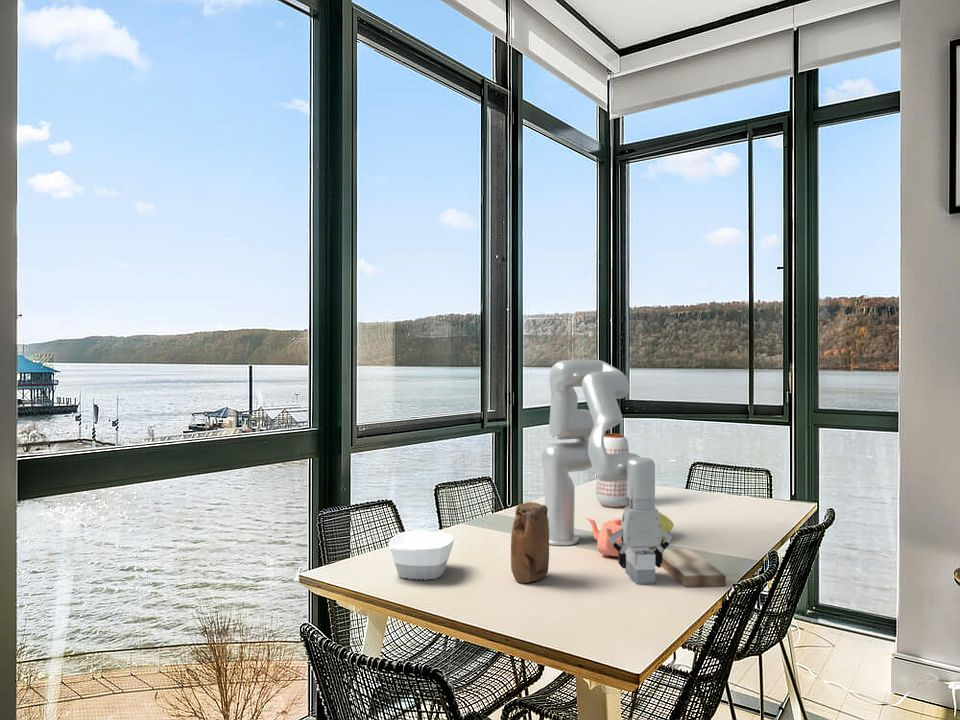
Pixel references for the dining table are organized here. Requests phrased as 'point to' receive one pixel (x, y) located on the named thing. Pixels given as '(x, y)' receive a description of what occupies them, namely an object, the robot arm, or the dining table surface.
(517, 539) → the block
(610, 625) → the dining table surface
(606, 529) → the teapot
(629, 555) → the housing
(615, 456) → the robot arm
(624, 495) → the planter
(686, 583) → the walnut stand
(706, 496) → the dining table surface
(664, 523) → the plastic component
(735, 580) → the dining table surface
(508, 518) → the dining table surface
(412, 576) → the bowl
